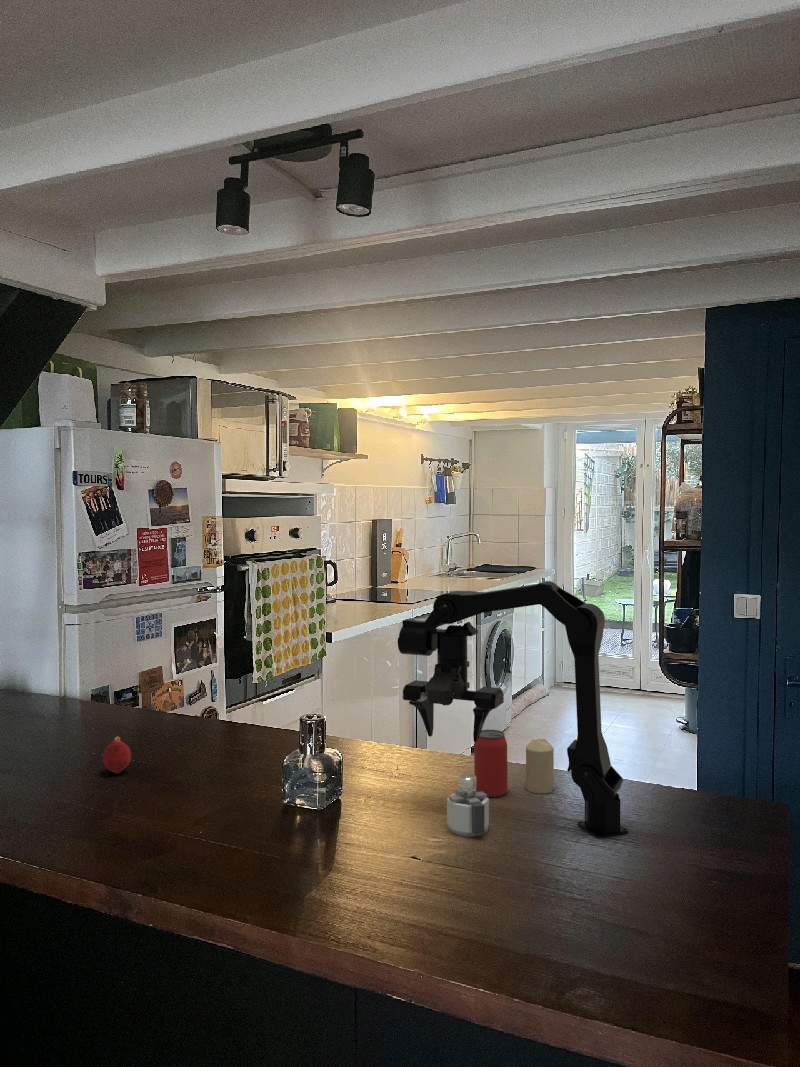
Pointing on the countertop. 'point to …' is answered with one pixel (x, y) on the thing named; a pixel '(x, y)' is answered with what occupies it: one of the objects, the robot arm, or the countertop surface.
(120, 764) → the onion
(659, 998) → the countertop surface
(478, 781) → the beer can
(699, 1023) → the countertop surface
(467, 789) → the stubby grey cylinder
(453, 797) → the grey faceted drum
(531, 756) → the candle
